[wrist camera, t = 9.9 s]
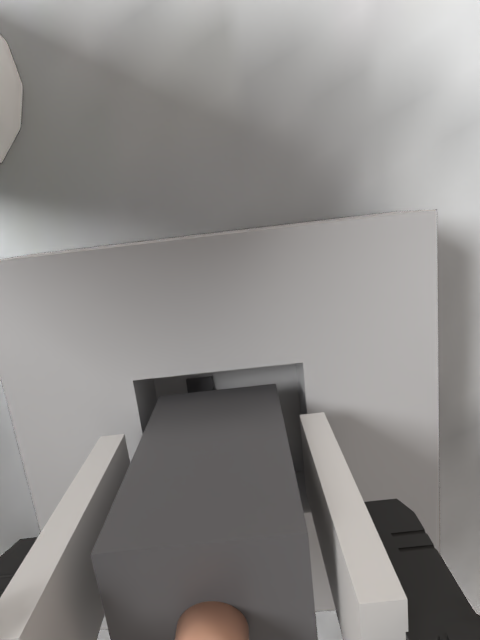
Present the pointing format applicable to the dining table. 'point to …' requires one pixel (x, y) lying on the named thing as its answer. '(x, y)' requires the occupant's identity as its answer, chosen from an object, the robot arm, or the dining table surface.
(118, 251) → the socket plate
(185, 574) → the plug
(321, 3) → the dining table surface
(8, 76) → the foam cup
